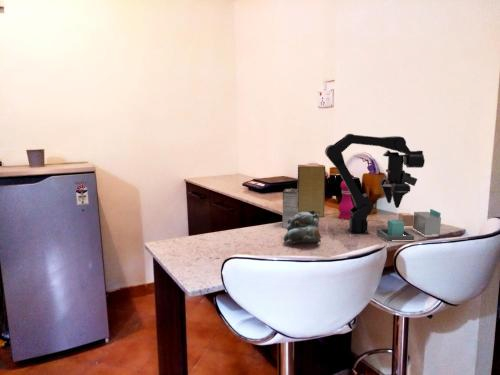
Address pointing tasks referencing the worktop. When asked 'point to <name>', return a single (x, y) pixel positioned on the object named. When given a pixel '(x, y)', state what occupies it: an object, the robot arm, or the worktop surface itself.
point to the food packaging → (311, 189)
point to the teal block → (395, 228)
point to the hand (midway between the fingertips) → (393, 205)
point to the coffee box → (290, 205)
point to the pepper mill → (345, 202)
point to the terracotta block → (406, 218)
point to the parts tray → (389, 238)
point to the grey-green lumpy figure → (303, 228)
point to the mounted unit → (427, 222)
